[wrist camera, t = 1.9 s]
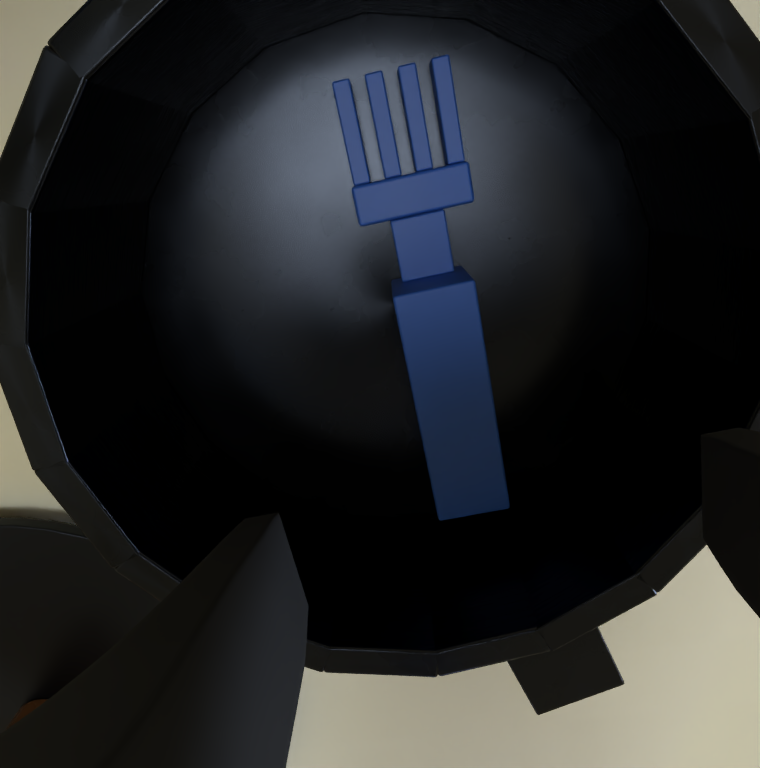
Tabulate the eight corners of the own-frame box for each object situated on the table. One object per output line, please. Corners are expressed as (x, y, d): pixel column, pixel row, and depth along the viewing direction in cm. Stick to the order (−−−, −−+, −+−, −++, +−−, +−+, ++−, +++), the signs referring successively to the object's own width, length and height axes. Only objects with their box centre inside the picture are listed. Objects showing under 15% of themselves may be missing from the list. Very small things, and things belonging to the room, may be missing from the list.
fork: (510, 464, 18) (529, 505, 16) (415, 481, 18) (420, 525, 16) (448, 58, 14) (462, 35, 12) (330, 87, 14) (320, 70, 12)
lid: (32, 886, 26) (-49, 1048, 21) (-267, 619, 21) (-463, 754, 16) (363, 766, 23) (358, 921, 18) (115, 426, 18) (19, 517, 13)
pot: (332, 648, 21) (314, 821, 15) (-62, 74, 15) (-339, 12, 9) (755, 478, 19) (918, 610, 13) (503, -301, 12) (608, -710, 7)
